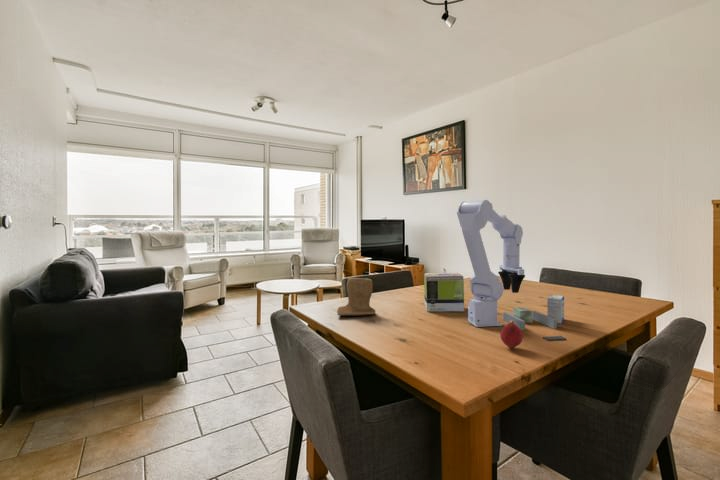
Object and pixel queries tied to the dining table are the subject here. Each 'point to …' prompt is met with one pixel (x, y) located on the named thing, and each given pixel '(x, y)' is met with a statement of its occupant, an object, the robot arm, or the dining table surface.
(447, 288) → the tea box
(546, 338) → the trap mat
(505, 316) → the tunnel
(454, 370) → the dining table surface
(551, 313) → the medicine box
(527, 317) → the green block
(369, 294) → the brown flared block
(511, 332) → the onion
